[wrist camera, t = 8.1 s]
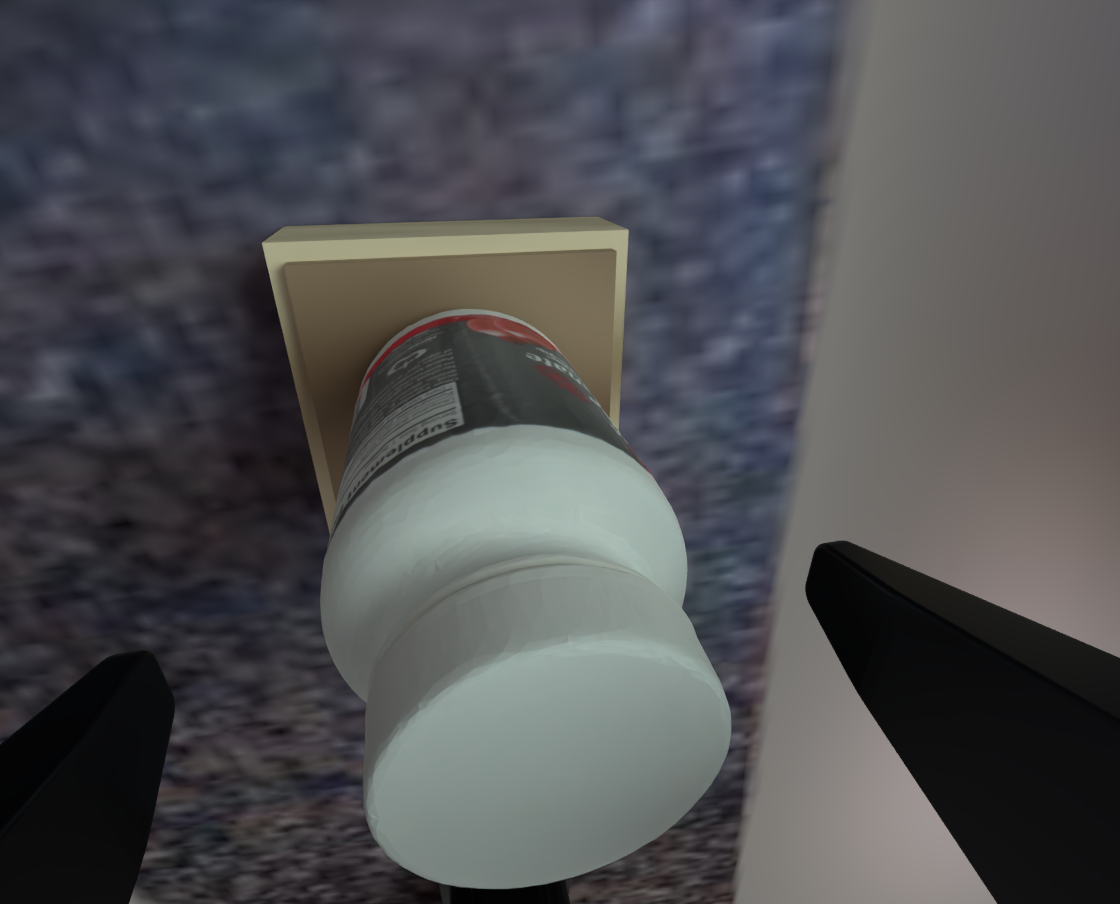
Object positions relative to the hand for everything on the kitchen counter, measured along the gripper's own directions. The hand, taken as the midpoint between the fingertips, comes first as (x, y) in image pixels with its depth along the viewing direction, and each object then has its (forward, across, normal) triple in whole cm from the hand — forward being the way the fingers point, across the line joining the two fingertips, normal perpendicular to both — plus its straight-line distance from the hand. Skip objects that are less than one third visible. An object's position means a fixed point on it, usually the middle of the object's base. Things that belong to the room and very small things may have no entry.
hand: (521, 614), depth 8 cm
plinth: (+10, 0, 0) cm, 10 cm away
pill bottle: (+8, 0, 0) cm, 8 cm away
